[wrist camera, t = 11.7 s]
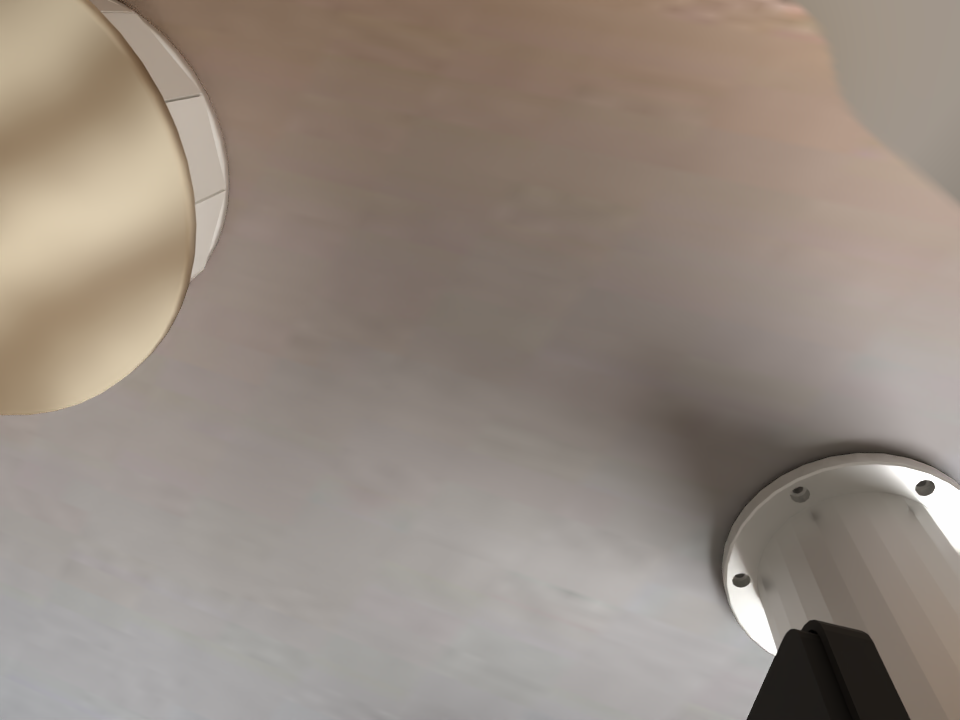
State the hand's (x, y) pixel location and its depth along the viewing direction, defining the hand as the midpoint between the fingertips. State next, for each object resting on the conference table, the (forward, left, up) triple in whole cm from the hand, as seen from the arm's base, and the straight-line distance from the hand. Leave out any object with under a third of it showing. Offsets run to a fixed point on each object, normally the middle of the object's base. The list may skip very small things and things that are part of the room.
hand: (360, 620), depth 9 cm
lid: (+13, +16, -21) cm, 30 cm away
